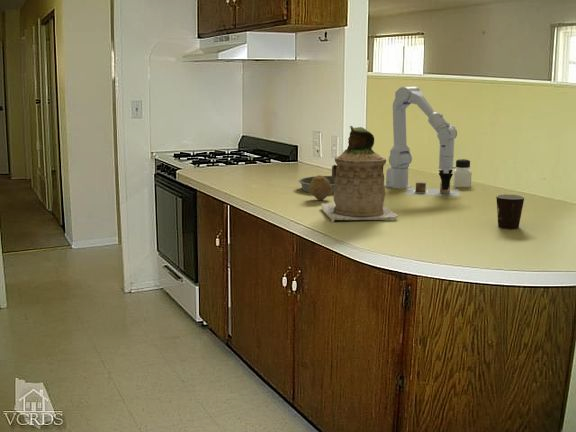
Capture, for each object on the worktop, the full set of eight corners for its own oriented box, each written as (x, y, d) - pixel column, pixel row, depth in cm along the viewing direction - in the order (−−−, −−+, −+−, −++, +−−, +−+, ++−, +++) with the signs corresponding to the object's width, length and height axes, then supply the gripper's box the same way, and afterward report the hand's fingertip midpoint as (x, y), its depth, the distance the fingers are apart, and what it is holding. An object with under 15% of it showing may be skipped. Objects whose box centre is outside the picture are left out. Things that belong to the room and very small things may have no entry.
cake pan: (308, 184, 299) (308, 174, 298) (360, 186, 291) (360, 176, 290) (291, 193, 276) (290, 182, 275) (346, 196, 268) (346, 185, 267)
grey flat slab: (405, 195, 267) (405, 194, 266) (407, 189, 282) (407, 187, 282) (460, 197, 262) (460, 196, 262) (459, 190, 277) (459, 189, 277)
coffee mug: (499, 222, 216) (500, 193, 214) (525, 225, 212) (527, 195, 209) (488, 229, 207) (489, 199, 205) (515, 233, 202) (517, 201, 200)
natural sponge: (304, 199, 260) (303, 175, 258) (320, 196, 266) (320, 173, 264) (318, 202, 253) (318, 177, 251) (335, 200, 259) (335, 175, 256)
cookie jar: (400, 221, 221) (402, 127, 214) (328, 223, 219) (329, 128, 212) (384, 206, 245) (386, 122, 238) (319, 208, 243) (319, 123, 236)
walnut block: (415, 192, 271) (415, 183, 270) (415, 190, 275) (416, 181, 274) (425, 192, 270) (425, 183, 270) (425, 191, 274) (425, 181, 273)
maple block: (440, 193, 269) (440, 183, 268) (440, 191, 273) (440, 182, 272) (449, 193, 268) (450, 183, 267) (449, 191, 272) (450, 182, 271)
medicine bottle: (470, 187, 283) (472, 160, 281) (454, 187, 285) (455, 160, 282) (469, 185, 290) (470, 158, 287) (453, 184, 291) (454, 158, 289)
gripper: (456, 158, 259) (455, 191, 262) (456, 153, 273) (454, 185, 276) (438, 157, 261) (437, 190, 264) (439, 153, 275) (437, 185, 278)
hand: (445, 188), depth 270 cm, fingers open, 7 cm apart
